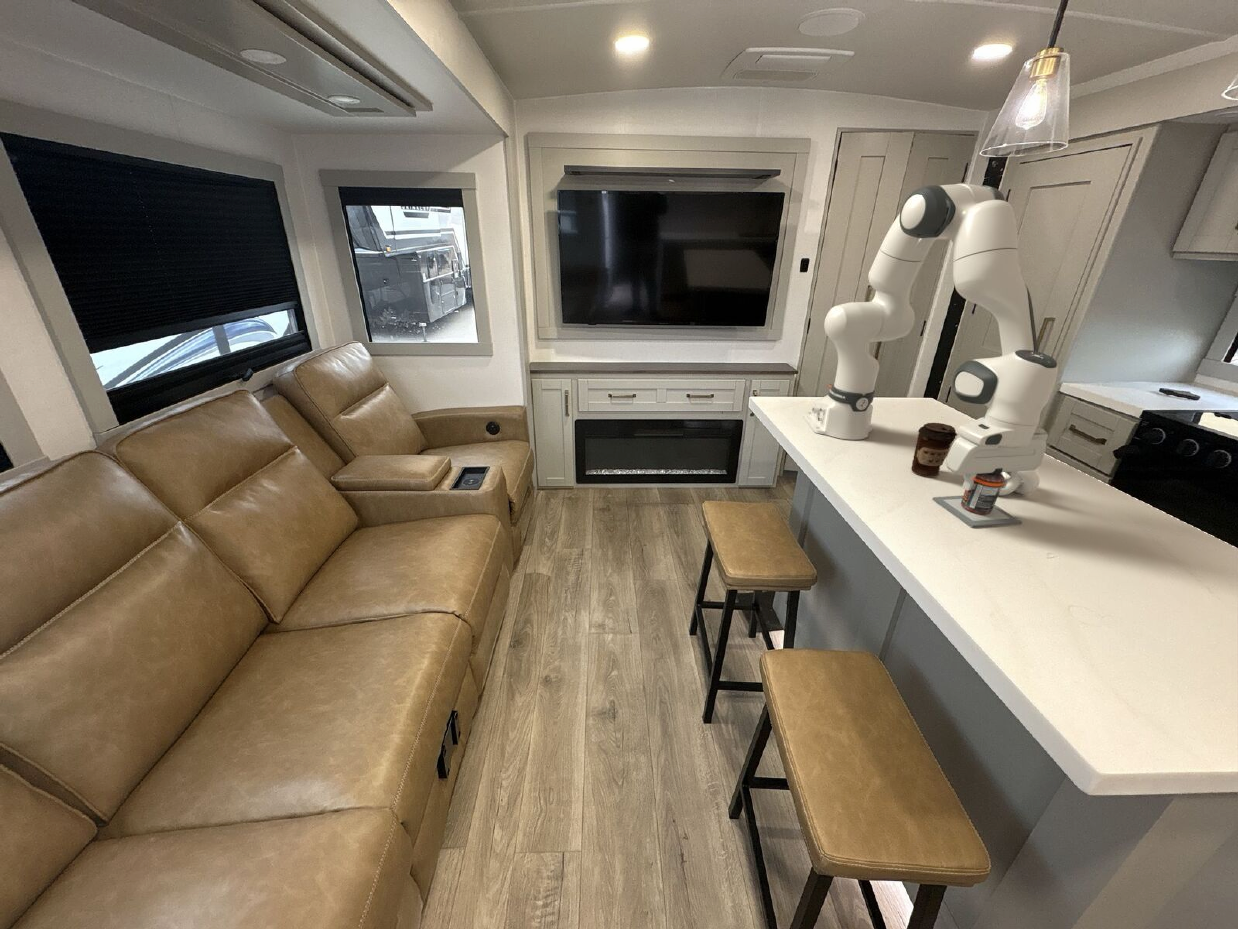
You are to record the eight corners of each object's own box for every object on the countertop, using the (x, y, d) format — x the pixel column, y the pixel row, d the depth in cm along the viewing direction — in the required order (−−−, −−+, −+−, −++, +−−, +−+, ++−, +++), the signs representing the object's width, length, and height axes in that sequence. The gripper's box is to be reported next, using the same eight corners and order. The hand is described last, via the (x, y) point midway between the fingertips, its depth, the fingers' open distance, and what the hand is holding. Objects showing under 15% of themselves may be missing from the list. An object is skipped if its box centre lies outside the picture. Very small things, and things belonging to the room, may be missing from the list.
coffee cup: (948, 482, 123) (965, 434, 117) (913, 478, 124) (928, 431, 118) (935, 467, 130) (951, 421, 125) (902, 463, 132) (916, 419, 126)
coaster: (932, 499, 115) (933, 497, 114) (977, 496, 116) (978, 494, 116) (971, 527, 104) (972, 525, 104) (1021, 524, 106) (1022, 521, 105)
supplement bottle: (958, 499, 114) (974, 456, 109) (988, 505, 111) (1006, 461, 106) (961, 511, 109) (978, 466, 104) (993, 518, 106) (1012, 472, 101)
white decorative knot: (969, 473, 127) (981, 442, 123) (1025, 484, 122) (1039, 452, 118) (973, 492, 118) (986, 459, 114) (1034, 505, 113) (1050, 471, 109)
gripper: (1036, 423, 105) (1012, 478, 112) (952, 426, 103) (932, 483, 109) (1064, 434, 100) (1037, 492, 106) (975, 438, 97) (953, 497, 104)
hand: (983, 488), depth 108 cm, fingers open, 6 cm apart
